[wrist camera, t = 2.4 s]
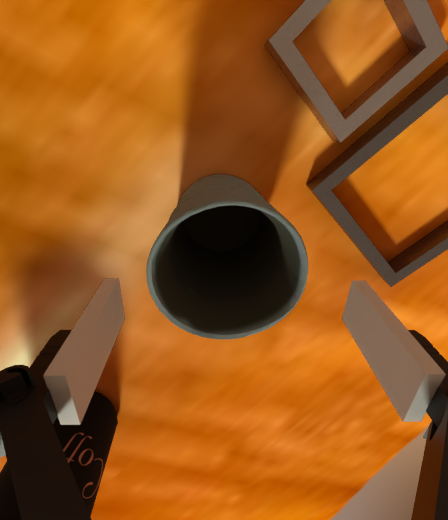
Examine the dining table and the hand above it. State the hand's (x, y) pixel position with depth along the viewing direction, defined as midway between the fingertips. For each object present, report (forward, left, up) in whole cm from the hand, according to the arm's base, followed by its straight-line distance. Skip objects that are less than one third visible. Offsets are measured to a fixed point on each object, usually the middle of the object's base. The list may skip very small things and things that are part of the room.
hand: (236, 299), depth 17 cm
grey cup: (0, 0, -14) cm, 14 cm away
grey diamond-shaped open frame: (-3, +16, -14) cm, 22 cm away
